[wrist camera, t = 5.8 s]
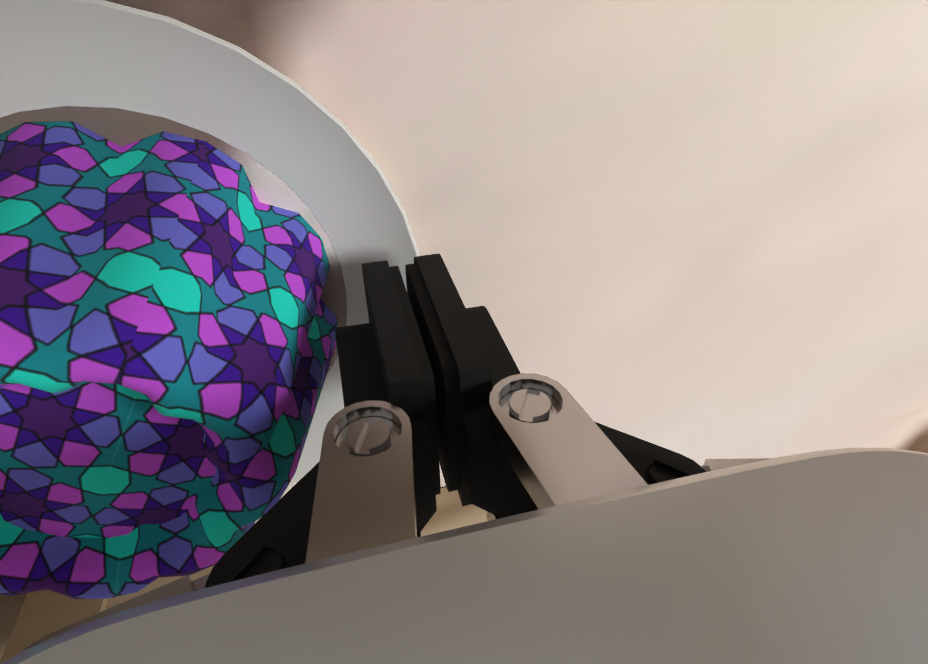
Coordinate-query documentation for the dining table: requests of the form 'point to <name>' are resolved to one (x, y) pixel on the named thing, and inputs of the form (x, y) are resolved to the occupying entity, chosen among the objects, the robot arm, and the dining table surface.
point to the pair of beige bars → (59, 611)
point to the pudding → (163, 296)
